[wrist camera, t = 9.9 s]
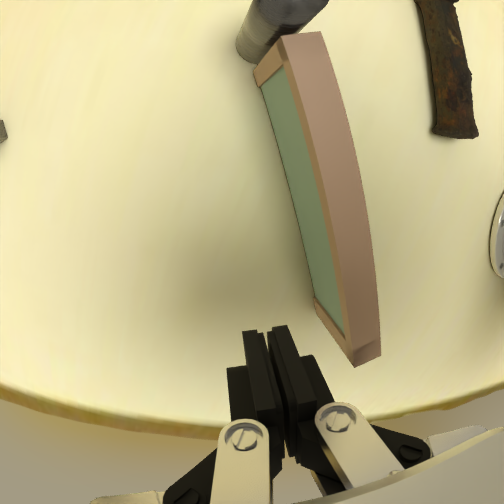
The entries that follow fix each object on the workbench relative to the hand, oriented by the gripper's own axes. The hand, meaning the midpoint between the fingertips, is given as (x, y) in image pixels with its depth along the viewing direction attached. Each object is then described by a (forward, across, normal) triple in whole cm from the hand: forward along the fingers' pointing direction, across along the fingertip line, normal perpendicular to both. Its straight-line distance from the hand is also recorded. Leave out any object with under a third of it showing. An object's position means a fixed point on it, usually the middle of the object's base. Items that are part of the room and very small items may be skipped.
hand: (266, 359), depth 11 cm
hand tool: (+13, -18, -18) cm, 29 cm away
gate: (+12, -5, -4) cm, 13 cm away
